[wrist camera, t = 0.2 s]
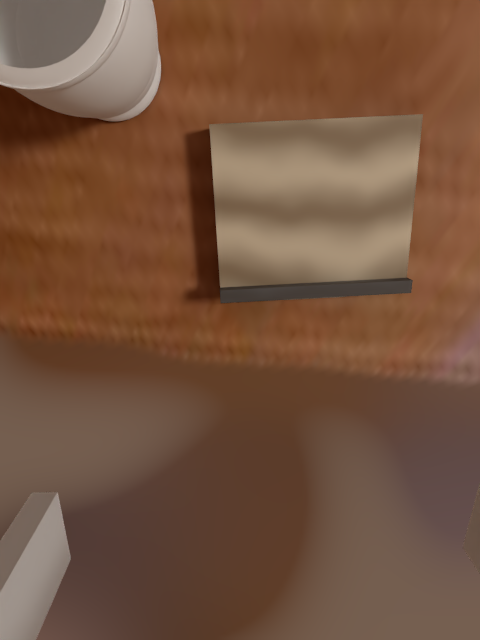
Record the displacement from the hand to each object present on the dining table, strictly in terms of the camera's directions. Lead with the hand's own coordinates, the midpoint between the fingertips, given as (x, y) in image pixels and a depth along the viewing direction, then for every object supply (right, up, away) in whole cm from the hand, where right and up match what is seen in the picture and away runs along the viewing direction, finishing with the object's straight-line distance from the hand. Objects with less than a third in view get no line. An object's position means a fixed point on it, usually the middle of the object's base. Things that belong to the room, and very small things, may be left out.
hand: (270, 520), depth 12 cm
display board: (+6, +17, +23) cm, 30 cm away
